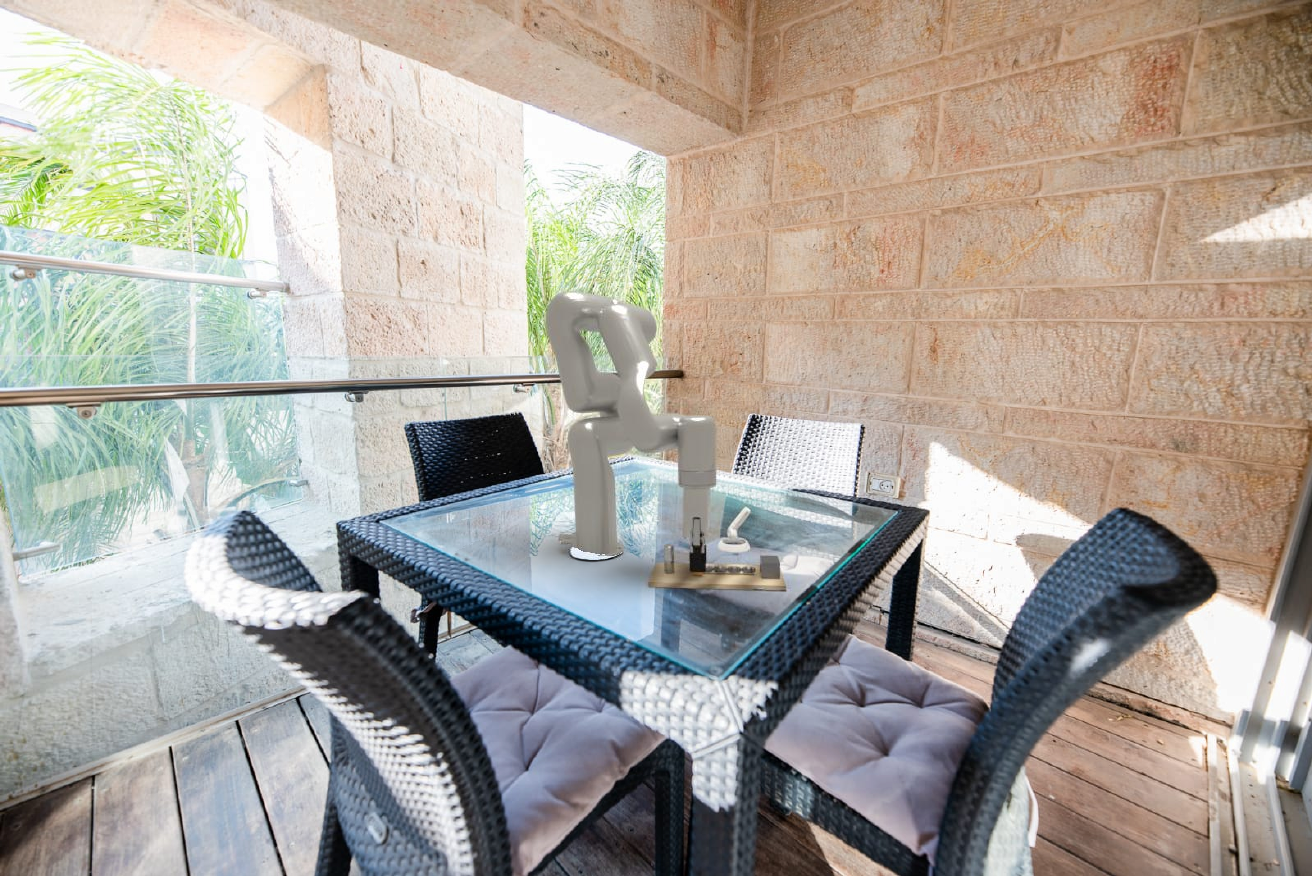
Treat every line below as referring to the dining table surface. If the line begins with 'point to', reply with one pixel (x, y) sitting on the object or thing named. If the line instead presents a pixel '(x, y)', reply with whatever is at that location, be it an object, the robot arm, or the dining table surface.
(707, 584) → the board
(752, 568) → the block with bead chain
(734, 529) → the white ringed handle device
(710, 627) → the dining table surface
